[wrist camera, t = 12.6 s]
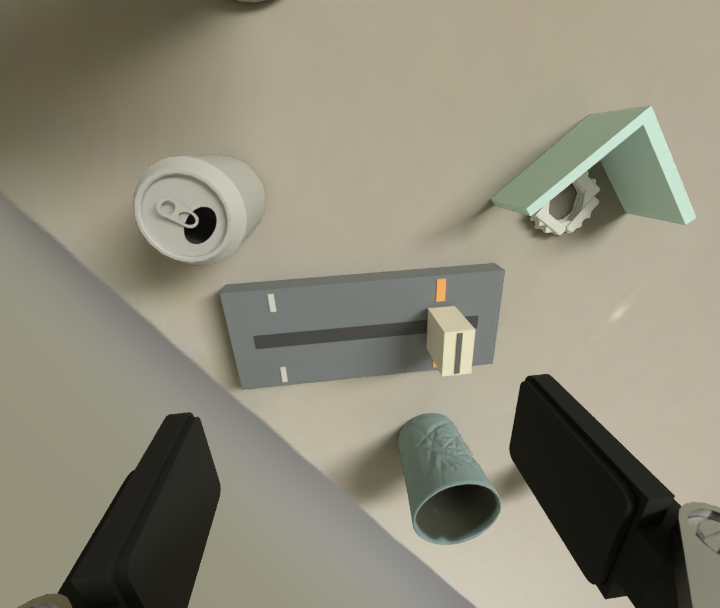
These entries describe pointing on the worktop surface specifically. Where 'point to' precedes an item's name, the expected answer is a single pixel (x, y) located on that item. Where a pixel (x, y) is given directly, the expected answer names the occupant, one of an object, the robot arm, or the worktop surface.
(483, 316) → the fader console
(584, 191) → the right angle wall
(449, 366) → the fader tab
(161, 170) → the can
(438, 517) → the teal embossed cup
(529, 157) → the worktop surface
